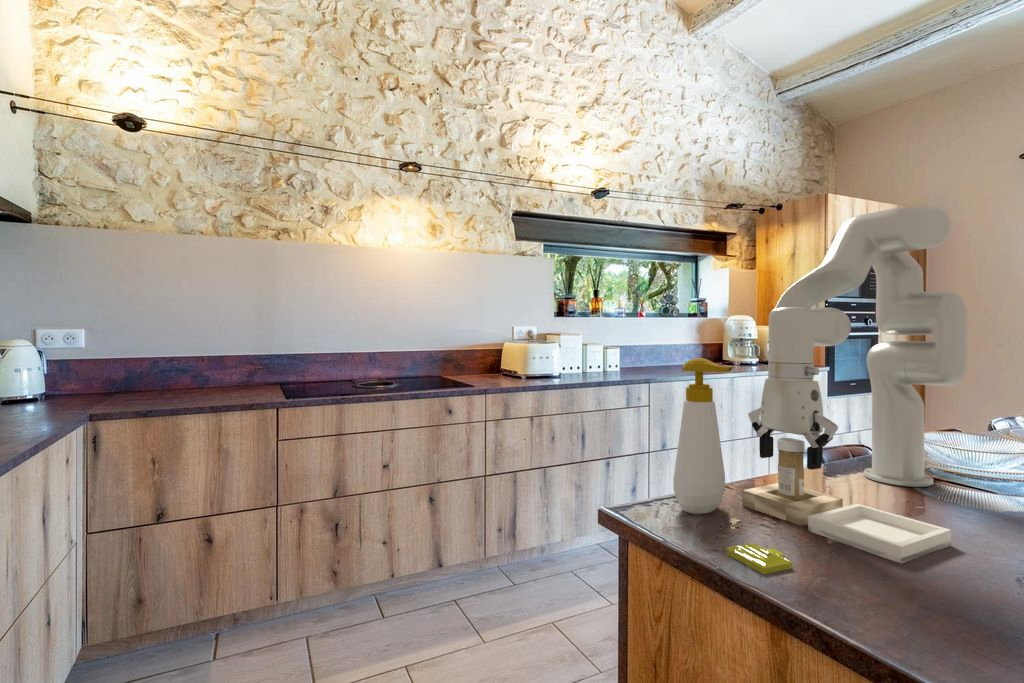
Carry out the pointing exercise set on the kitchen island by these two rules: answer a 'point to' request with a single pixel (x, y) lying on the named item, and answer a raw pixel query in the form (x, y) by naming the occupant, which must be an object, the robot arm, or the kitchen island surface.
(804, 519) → the socket holder
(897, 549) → the tray
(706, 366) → the soap bottle
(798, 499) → the sprinkles bottle
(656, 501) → the kitchen island surface
